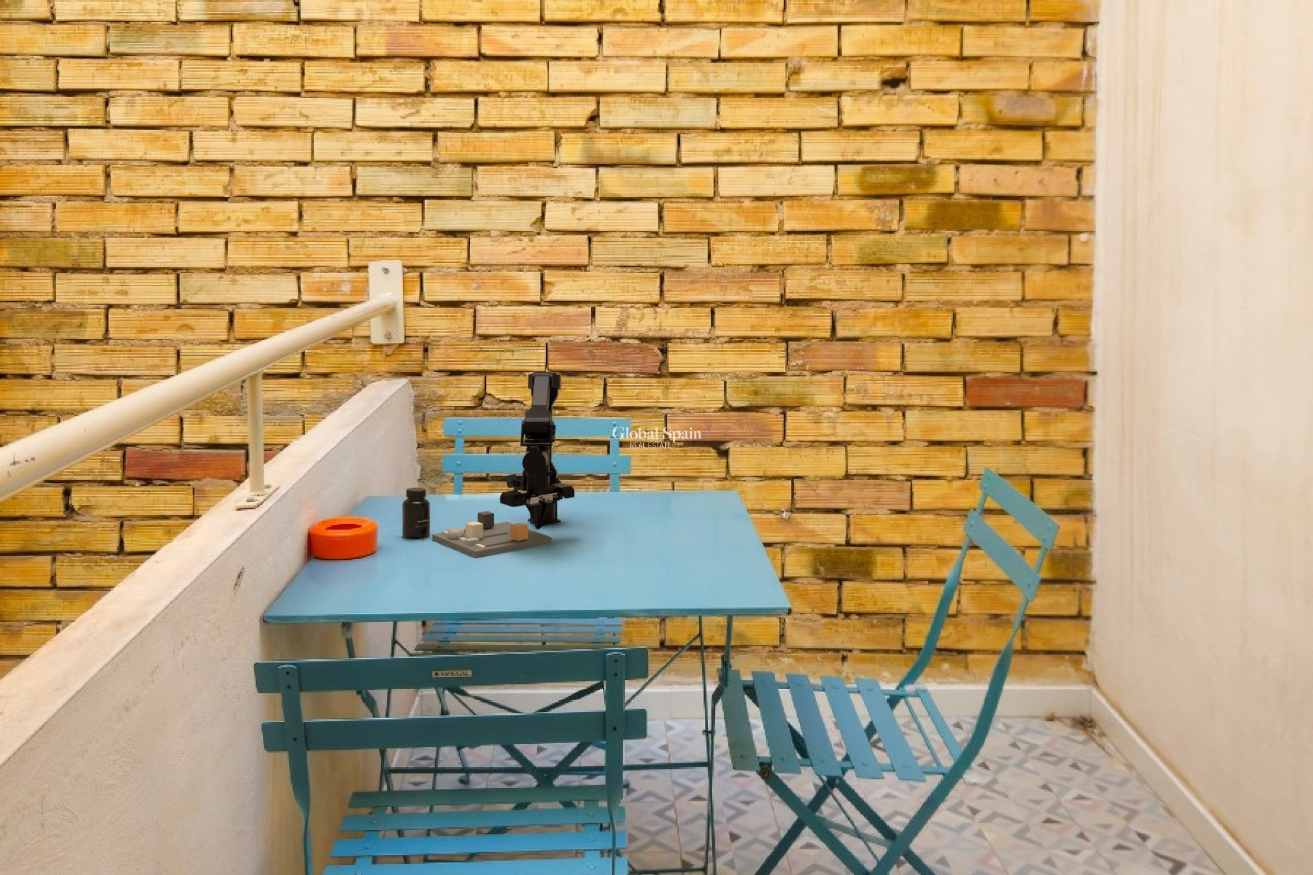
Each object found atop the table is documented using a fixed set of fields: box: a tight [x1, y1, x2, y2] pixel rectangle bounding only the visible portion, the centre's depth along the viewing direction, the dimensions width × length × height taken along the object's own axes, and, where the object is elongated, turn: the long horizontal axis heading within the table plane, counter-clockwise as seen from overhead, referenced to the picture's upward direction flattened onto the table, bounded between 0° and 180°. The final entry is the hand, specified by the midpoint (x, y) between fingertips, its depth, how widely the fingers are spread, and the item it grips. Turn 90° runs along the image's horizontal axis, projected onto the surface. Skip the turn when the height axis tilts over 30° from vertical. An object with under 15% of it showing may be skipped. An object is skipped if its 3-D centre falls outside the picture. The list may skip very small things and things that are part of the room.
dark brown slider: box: [477, 510, 495, 529], centre depth 311 cm, size 3×3×4 cm
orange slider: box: [511, 522, 529, 541], centre depth 299 cm, size 3×3×4 cm
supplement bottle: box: [401, 487, 431, 540], centre depth 307 cm, size 7×7×12 cm
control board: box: [431, 521, 553, 559], centre depth 303 cm, size 22×20×4 cm
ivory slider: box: [465, 520, 483, 539], centre depth 300 cm, size 3×3×4 cm
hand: (537, 528), depth 303 cm, fingers closed
